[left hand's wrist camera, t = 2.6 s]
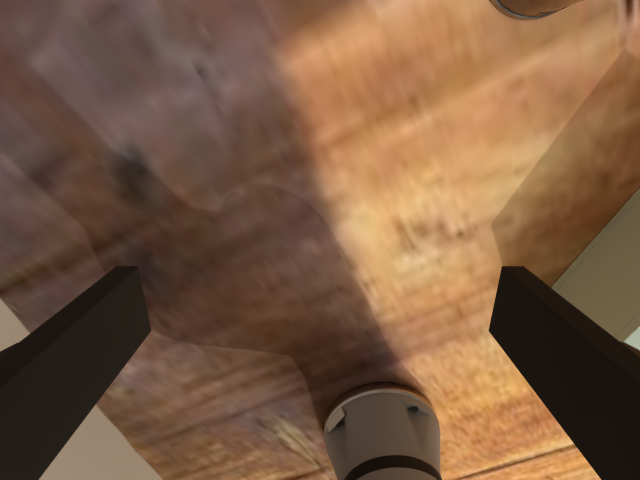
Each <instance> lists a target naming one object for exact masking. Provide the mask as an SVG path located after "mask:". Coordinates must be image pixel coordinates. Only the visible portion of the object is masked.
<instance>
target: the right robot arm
mask: <svg viewBox="0 0 640 480" xmlns="http://www.w3.org/2000/svg"><path fill="white" fill-rule="evenodd" d="M580 1H583V0H490V2H491V3H492V4H493V6H494V7H495V8H496V9H497V10H499V11H500V12H501V13H503V14H504V15H506V16H508V17H511V18H514V19H518V20H535V19H539V18H542V17H545V16H548V15H550V14H553V13H555V12H557V11H559V10H561V9H564V8H566V7H568V6H570V5H572V4H575V3H578V2H580Z"/></svg>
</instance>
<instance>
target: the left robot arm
mask: <svg viewBox="0 0 640 480" xmlns="http://www.w3.org/2000/svg"><path fill="white" fill-rule="evenodd" d="M150 332H151V327H150V322H149V317H148V313H147V308H146V303H145V298H144V293H143V289H142V284H141V279H140V274H139V269H138V266H117V267H115V268H114V269H113V270H111V271H110V272H109V273H108V274H106V275H105V276H104V277H102V278H101V279H100V280H99V281H97V282H96V283H95V284H93V285H92V286H91V287H90V288H88V289H87V290H86V291H84V292H83V293H82V294H81V295H79V296H78V297H77V298H76V299H74V300H73V301H72V302H70V303H69V304H68V305H67V306H65V307H64V308H63V309H61V310H60V311H59V312H58V313H56V314H55V315H54V316H52V317H51V318H50V319H49V320H47V321H46V322H45V323H43V324H42V325H41V326H40V327H38V328H37V329H36V330H35V331H33V332H32V333H31V334H29V335H28V336H27V337H26V338H24V339H23V340H22V341H20V342H19V343H16V344H14V345H12V346H10V347H8V348H6V349H5V350H3V351H1V352H0V480H39V478H40V477H41V476H42V474H43V473H44V472H45V470H46V469H47V468H48V466H49V465H50V464H51V462H52V461H53V460H54V459H55V457H56V456H57V455H58V453H59V452H60V451H61V449H62V448H63V447H64V445H65V444H66V443H67V441H68V440H69V439H70V437H71V436H72V435H73V433H74V432H75V431H76V429H77V428H78V427H79V425H80V424H81V423H82V422H83V420H84V419H85V418H86V416H87V415H88V414H89V412H90V411H91V410H92V408H93V407H94V406H95V404H96V403H97V402H98V400H99V399H100V398H101V396H102V395H103V394H104V392H105V391H106V390H107V388H108V387H109V386H110V385H111V383H112V382H113V381H114V379H115V378H116V377H117V375H118V374H119V373H120V371H121V370H122V369H123V367H124V366H125V365H126V363H127V362H128V361H129V359H130V358H131V357H132V355H133V354H134V353H135V351H136V350H137V349H138V348H139V346H140V345H141V344H142V342H143V341H144V340H145V338H146V337H147V336H148V334H149V333H150ZM489 332H490V333H491V334H492V336H493V337H494V338H495V340H496V341H497V342H498V344H499V345H500V346H501V348H502V349H503V350H504V351H505V353H506V354H507V355H508V357H509V358H510V359H511V361H512V362H513V363H514V365H515V366H516V367H517V369H518V370H519V371H520V373H521V374H522V375H523V377H524V378H525V379H526V381H527V382H528V383H529V385H530V386H531V387H532V388H533V390H534V391H535V392H536V394H537V395H538V396H539V398H540V399H541V400H542V402H543V403H544V404H545V406H546V407H547V408H548V410H549V411H550V412H551V414H552V415H553V416H554V418H555V419H556V420H557V422H558V423H559V424H560V425H561V427H562V428H563V429H564V431H565V432H566V433H567V435H568V436H569V437H570V439H571V440H572V441H573V443H574V444H575V445H576V447H577V448H578V449H579V451H580V452H581V453H582V455H583V456H584V457H585V459H586V460H587V461H588V462H589V464H590V465H591V466H592V468H593V469H594V470H595V472H596V473H597V474H598V476H599V477H600V478H601V480H640V350H638V349H636V348H635V347H633V346H631V345H629V344H627V343H625V342H620V341H618V340H617V339H616V338H614V337H613V336H612V335H611V334H609V333H608V332H607V331H605V330H604V329H603V328H602V327H600V326H599V325H598V324H597V323H595V322H594V321H593V320H591V319H590V318H589V317H588V316H586V315H585V314H584V313H582V312H581V311H580V310H579V309H577V308H576V307H575V306H573V305H572V304H571V303H570V302H568V301H567V300H566V299H564V298H563V297H562V296H561V295H559V294H558V293H557V292H556V291H554V290H553V289H552V288H550V287H549V286H548V285H547V284H545V283H544V282H543V281H541V280H540V279H539V278H538V277H536V276H535V275H534V274H532V273H531V272H530V271H529V270H527V269H526V268H525V267H523V266H502V269H501V274H500V279H499V284H498V289H497V293H496V298H495V303H494V308H493V313H492V317H491V322H490V327H489ZM324 440H325V445H326V449H327V452H328V455H329V457H330V460H331V463H332V465H333V468H334V471H335V473H336V476H337V479H338V480H442V478H441V475H440V428H439V423H438V420H437V417H436V414H435V412H434V409H433V407H432V405H431V404H430V403H429V401H428V400H427V399H426V398H425V397H424V396H423V395H422V394H420V393H419V392H417V391H415V390H413V389H411V388H409V387H406V386H403V385H399V384H393V383H374V384H368V385H364V386H361V387H357V388H355V389H353V390H351V391H349V392H347V393H345V394H344V395H342V396H341V397H340V398H338V399H337V400H336V401H335V402H334V403H333V405H332V406H331V407H330V409H329V410H328V412H327V415H326V417H325V422H324Z"/></svg>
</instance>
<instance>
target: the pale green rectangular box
mask: <svg viewBox="0 0 640 480" xmlns="http://www.w3.org/2000/svg"><path fill="white" fill-rule="evenodd" d="M551 288H552V289H553V290H554V291H556V292H557V293H558V294H559V295H561V296H562V297H563V298H564V299H566V300H567V301H568V302H570V303H571V304H572V305H573V306H575V307H576V308H577V309H579V310H580V311H581V312H582V313H584V314H585V315H586V316H588V317H589V318H590V319H591V320H593V321H594V322H595V323H597V324H598V325H599V326H600V327H602V328H603V329H604V330H605V331H607V332H608V333H609V334H611V335H612V336H613V337H614V338H616V339H617V340H618V341H620V342H625V343H627V344H629V345H631V346H633V347H635V348H636V349H638V350H640V188H639V189H638V190H637V191H636V192H635V193H634V194H633V195H632V197H631V198H630V199H629V200H628V201H627V202H626V203H625V204H624V206H623V207H622V208H621V209H620V210H619V211H618V212H617V213H616V215H615V216H614V217H613V218H612V219H611V220H610V221H609V223H608V224H607V225H606V226H605V227H604V228H603V229H602V230H601V232H600V233H599V234H598V235H597V236H596V237H595V238H594V239H593V241H592V242H591V243H590V244H589V245H588V246H587V247H586V248H585V250H584V251H583V252H582V253H581V254H580V255H579V256H578V257H577V259H576V260H575V261H574V262H573V263H572V264H571V265H570V267H569V268H568V269H567V270H566V271H565V272H564V273H563V274H562V276H561V277H560V278H559V279H558V280H557V281H556V282H555V283H554V285H553V286H552V287H551Z"/></svg>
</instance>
